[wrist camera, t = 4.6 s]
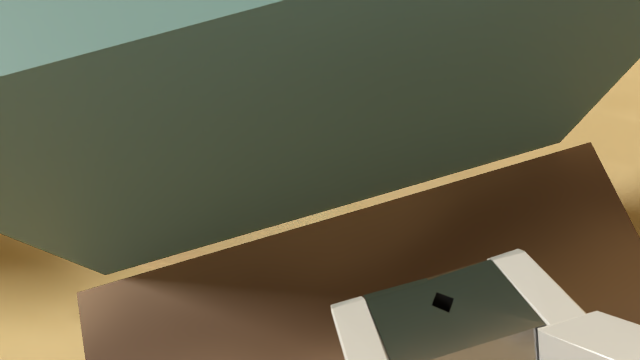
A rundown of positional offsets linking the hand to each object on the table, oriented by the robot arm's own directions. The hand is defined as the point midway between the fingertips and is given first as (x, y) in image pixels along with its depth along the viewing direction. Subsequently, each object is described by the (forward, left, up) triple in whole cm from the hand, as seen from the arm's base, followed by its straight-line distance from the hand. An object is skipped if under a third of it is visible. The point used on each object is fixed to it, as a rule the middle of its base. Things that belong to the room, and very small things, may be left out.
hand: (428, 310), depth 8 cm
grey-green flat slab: (+6, 0, -9) cm, 11 cm away
